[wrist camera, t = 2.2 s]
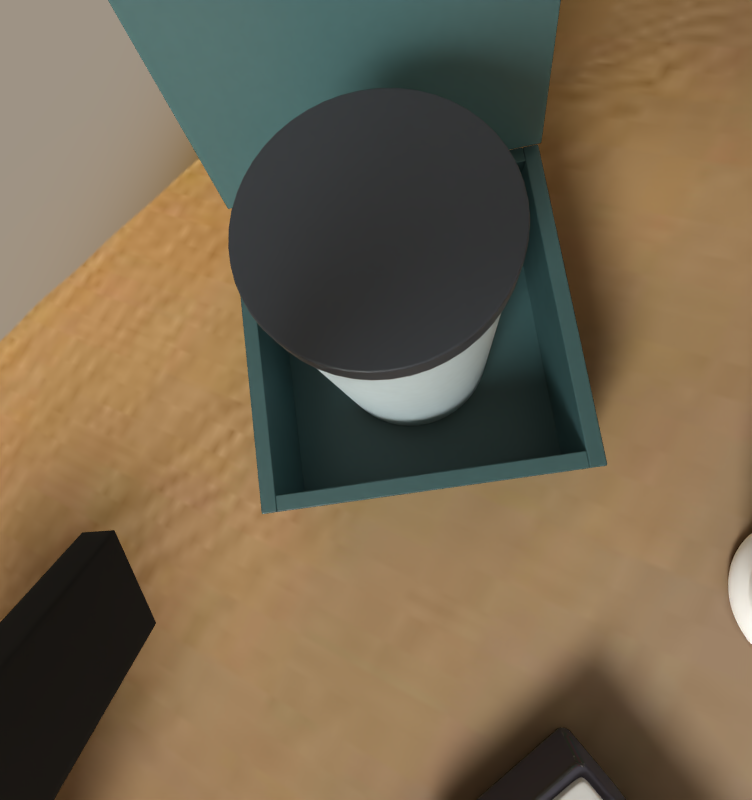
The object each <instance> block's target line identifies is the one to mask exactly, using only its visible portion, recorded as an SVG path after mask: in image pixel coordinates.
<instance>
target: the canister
mask: <svg viewBox="0 0 752 800" xmlns="http://www.w3.org/2000/svg"><path fill="white" fill-rule="evenodd" d="M529 229H530V212H529V200H528V196H527V192H526V188H525V183H524V180H523V178H522V175H521V173H520V170H519V167H518V165H517V163H516V161H515V160H514V158H513V156H512V154H511V153H510V151H509V149H508V147H507V146H506V145H505V144H504V142H503V141H502V140H501V139H500V137H499V136H498V135H497V133H496V132H495V131H494V130H493V129H491V128H490V127H489V126H488V125H487V124H486V123H485V122H484V121H483V120H482V119H480V118H479V117H478V116H476V115H475V114H474V113H472V112H471V111H469V110H468V109H466V108H464V107H462V106H461V105H459V104H457V103H455V102H453V101H451V100H448V99H446V98H443V97H440V96H438V95H435V94H431V93H427V92H423V91H419V90H413V89H404V88H374V89H367V90H359V91H355V92H351V93H347V94H343V95H340V96H337V97H335V98H332V99H329V100H327V101H324V102H322V103H320V104H318V105H316V106H314V107H312V108H310V109H308V110H306V111H305V112H303V113H302V114H300V115H299V116H297V117H296V118H294V119H293V120H291V121H290V122H289V123H288V124H286V125H285V126H284V127H283V128H282V129H280V130H279V131H278V132H277V133H276V134H275V135H274V136H273V137H272V138H271V139H270V140H269V141H268V142H267V143H266V144H265V145H264V147H263V148H262V149H261V151H260V152H259V153H258V155H257V156H256V157H255V159H254V160H253V161H252V163H251V165H250V167H249V168H248V170H247V172H246V174H245V175H244V177H243V179H242V182H241V184H240V186H239V189H238V191H237V194H236V197H235V200H234V204H233V208H232V211H231V218H230V224H229V256H230V264H231V269H232V273H233V277H234V280H235V284H236V286H237V289H238V291H239V293H240V296H241V298H242V300H243V302H244V304H245V305H246V307H247V309H248V310H249V312H250V314H251V315H252V317H253V318H254V319H255V320H256V322H257V323H258V324H259V325H260V327H261V328H262V329H263V330H264V331H265V332H266V333H267V334H268V335H269V336H270V337H271V338H273V339H274V340H275V341H276V342H277V343H278V344H279V345H281V346H282V347H283V348H284V349H285V350H287V351H288V352H289V353H291V354H292V355H294V356H295V357H297V358H298V359H299V360H301V361H303V362H305V363H307V364H308V365H310V366H312V367H314V368H316V369H318V370H319V371H320V372H321V373H322V374H323V375H325V376H326V377H327V378H328V379H329V380H330V381H331V382H333V383H334V384H335V385H336V386H337V387H338V388H340V389H341V390H342V391H343V392H344V393H345V394H346V395H348V396H349V397H350V398H351V399H352V400H353V401H354V402H356V403H357V404H358V405H359V406H360V407H361V408H362V409H364V410H365V411H366V412H368V413H369V414H371V415H372V416H374V417H376V418H378V419H380V420H383V421H386V422H388V423H392V424H397V425H406V426H414V425H423V424H429V423H432V422H435V421H438V420H440V419H442V418H444V417H447V416H448V415H450V414H451V413H453V412H455V411H456V410H457V409H458V408H460V407H461V406H462V405H463V404H464V403H465V402H466V401H467V400H468V399H469V398H470V396H471V395H472V394H473V392H474V391H475V389H476V387H477V386H478V384H479V382H480V380H481V377H482V374H483V371H484V368H485V365H486V361H487V358H488V355H489V351H490V348H491V345H492V341H493V338H494V335H495V332H496V328H497V325H498V322H499V318H500V315H501V312H502V311H503V309H504V308H505V306H506V304H507V302H508V300H509V299H510V297H511V295H512V293H513V291H514V288H515V286H516V283H517V280H518V277H519V274H520V272H521V269H522V266H523V263H524V260H525V256H526V251H527V246H528V241H529Z"/></svg>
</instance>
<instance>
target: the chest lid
mask: <svg viewBox="0 0 752 800" xmlns="http://www.w3.org/2000/svg"><path fill="white" fill-rule="evenodd" d="M108 1H109V3H110V4H111V6H112V8H113V10H114V11H115V13H116V15H117V17H118V18H119V20H120V22H121V24H122V25H123V27H124V29H125V30H126V32H127V34H128V36H129V37H130V39H131V41H132V43H133V44H134V46H135V48H136V50H137V51H138V53H139V55H140V57H141V58H142V60H143V62H144V63H145V65H146V67H147V69H148V70H149V72H150V74H151V76H152V77H153V79H154V81H155V82H156V84H157V86H158V88H159V90H160V91H161V93H162V95H163V97H164V98H165V100H166V102H167V103H168V105H169V107H170V108H171V110H172V112H173V114H174V116H175V117H176V119H177V121H178V122H179V124H180V126H181V128H182V130H183V131H184V133H185V135H186V137H187V138H188V140H189V142H190V143H191V145H192V147H193V149H194V150H195V152H196V154H197V155H198V157H199V159H200V161H201V163H202V164H203V166H204V168H205V170H206V171H207V173H208V175H209V176H210V178H211V180H212V182H213V183H214V185H215V187H216V189H217V190H218V192H219V194H220V196H221V197H222V199H223V201H224V203H225V204H226V206H227V208H228V209H230V208H233V204H234V200H235V197H236V194H237V191H238V189H239V186H240V184H241V182H242V179H243V177H244V175H245V174H246V172H247V170H248V168H249V167H250V165H251V163H252V161H253V160H254V159H255V157H256V156H257V155H258V153H259V152H260V151H261V149H262V148H263V147H264V145H265V144H266V143H267V142H268V141H269V140H270V139H271V138H272V137H273V136H274V135H275V134H276V133H277V132H278V131H279V130H280V129H282V128H283V127H284V126H285V125H286V124H288V123H289V122H290V121H291V120H293V119H294V118H296V117H297V116H299V115H300V114H302V113H303V112H305V111H306V110H308V109H310V108H312V107H314V106H316V105H318V104H320V103H322V102H324V101H327V100H329V99H332V98H335V97H337V96H340V95H343V94H347V93H351V92H355V91H359V90H367V89H374V88H404V89H413V90H419V91H423V92H427V93H431V94H435V95H438V96H440V97H443V98H446V99H448V100H451V101H453V102H455V103H457V104H459V105H461V106H462V107H464V108H466V109H468V110H469V111H471V112H472V113H474V114H475V115H476V116H478V117H479V118H480V119H482V120H483V121H484V122H485V123H486V124H487V125H488V126H489V127H490V128H491V129H493V130H494V131H495V132H496V133H497V135H498V136H499V137H500V139H501V140H502V141H503V142H504V144H505V145H506V146H507V147H508V149H509V150H510V149H515V148H519V147H524V146H529V145H534V144H538V143H541V141H542V134H543V126H544V119H545V112H546V104H547V97H548V90H549V82H550V75H551V68H552V60H553V53H554V46H555V39H556V31H557V24H558V17H559V9H560V2H561V0H108Z"/></svg>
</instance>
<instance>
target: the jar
mask: <svg viewBox="0 0 752 800" xmlns="http://www.w3.org/2000/svg"><path fill="white" fill-rule="evenodd" d="M728 593H729V600H730V604H731V608H732V611H733V614H734V617H735V619H736V621H737V623H738V625H739V627H740V629H741V631H742V632H743V634H744V635H745V637H746V638H747V639H748V641H749V642H750V643H751V645H752V533H751V534H750V535H749V536H748V537H747V538H746V539H745V540H744V541H743V542H742V544H741V545H740V546H739V548H738V550H737V551H736V553H735V555H734V558H733V560H732V563H731V566H730V570H729V577H728Z"/></svg>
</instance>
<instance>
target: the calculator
mask: <svg viewBox="0 0 752 800" xmlns="http://www.w3.org/2000/svg"><path fill="white" fill-rule="evenodd" d="M477 800H626V799H625V798H624V796H623V795H622V794H621V792H620V791H619V790H618V788H617V787H616V786H615V785H614V783H613V782H612V781H611V780H610V778H609V777H608V776H607V775H606V774H605V772H604V771H603V770H602V769H601V768H600V766H599V765H598V764H597V763H596V762H595V760H594V759H593V758H592V757H591V756H590V755H589V753H588V752H587V751H586V750H585V749H584V747H583V746H582V745H581V744H580V743H579V741H578V740H577V739H576V738H575V737H574V735H573V734H572V733H571V732H570V731H569V730H568V729H566V728H559V729H557V730H556V731H555V732H554V733H552V734H551V735H550V736H549V737H548V738H547V739H546V740H544V741H543V742H542V743H541V744H540V745H539V746H538V747H536V748H535V749H534V750H533V751H532V752H531V753H530V754H528V755H527V756H526V757H525V758H524V759H523V760H522V761H520V762H519V763H518V764H517V765H516V766H515V767H514V768H512V769H511V770H510V771H509V772H508V773H507V774H506V775H504V776H503V777H502V778H501V779H500V780H499V781H497V782H496V783H495V784H494V785H493V786H492V787H491V788H489V789H488V790H487V791H486V792H485V793H484V794H483V795H481V796H480V797H479V798H478V799H477Z"/></svg>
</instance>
